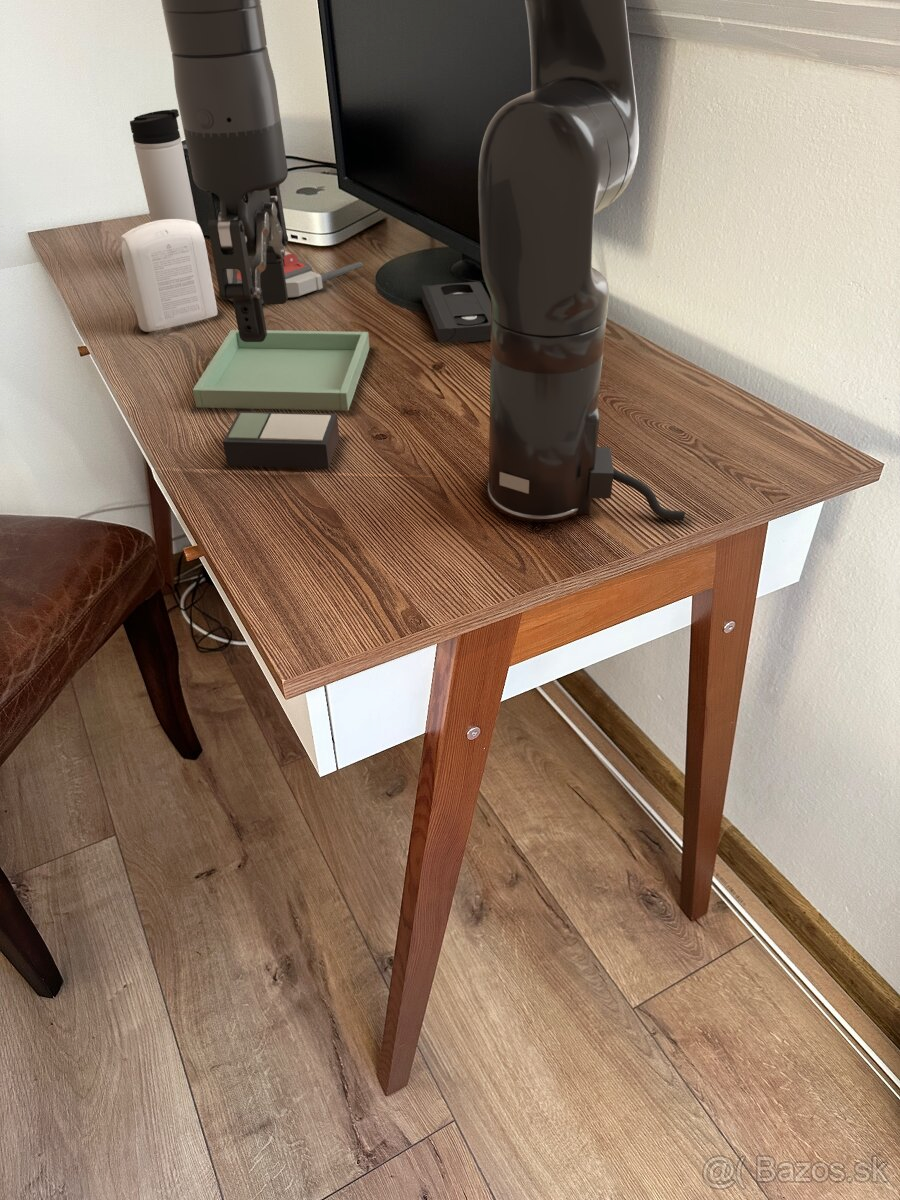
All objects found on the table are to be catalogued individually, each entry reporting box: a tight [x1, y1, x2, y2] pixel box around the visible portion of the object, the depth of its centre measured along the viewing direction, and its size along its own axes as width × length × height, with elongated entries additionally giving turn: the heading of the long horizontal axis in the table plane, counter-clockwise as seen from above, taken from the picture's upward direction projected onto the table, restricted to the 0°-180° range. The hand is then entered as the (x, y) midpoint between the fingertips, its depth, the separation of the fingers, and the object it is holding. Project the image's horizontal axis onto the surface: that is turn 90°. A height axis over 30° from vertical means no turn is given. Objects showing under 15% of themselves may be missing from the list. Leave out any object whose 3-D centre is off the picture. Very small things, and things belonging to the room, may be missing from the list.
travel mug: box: [129, 108, 199, 224], centre depth 124 cm, size 6×7×20 cm
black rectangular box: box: [222, 411, 340, 469], centre depth 87 cm, size 10×6×3 cm, turn 85°
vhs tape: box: [421, 281, 491, 343], centre depth 112 cm, size 14×8×2 cm, turn 10°
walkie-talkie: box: [227, 250, 364, 305], centre depth 121 cm, size 9×4×20 cm
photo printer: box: [120, 219, 219, 333], centre depth 110 cm, size 10×4×12 cm, turn 123°
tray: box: [192, 329, 370, 411], centre depth 100 cm, size 17×16×2 cm
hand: (265, 320), depth 79 cm, fingers open, 8 cm apart
